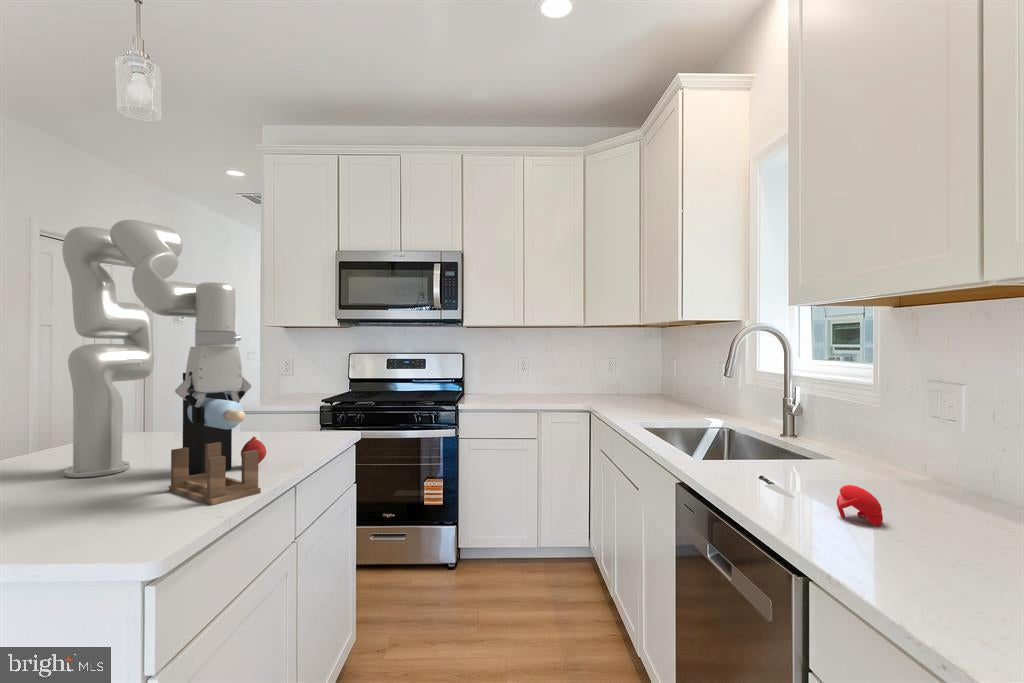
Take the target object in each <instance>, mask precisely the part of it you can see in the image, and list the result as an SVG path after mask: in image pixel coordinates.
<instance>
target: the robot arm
mask: <svg viewBox="0 0 1024 683" xmlns="http://www.w3.org/2000/svg"><path fill="white" fill-rule="evenodd" d="M182 240H183V239H182V238H181V236H180V234H179V233H178V232H177V231H176V230H175V229H173V228H172V227H169V226H166V225H161V224H156V223H153V222H152V223H151V222H147V221H143V220H137V219H122V220H120V221H117V222H116V223H114V224H113V225H112V227H111V228H110V229H108V228H102V227H98V226H97V227H94V226H78V227H74V228H71V229H70V230H69V231H68V232H67V233H65V237H64V239H63V243H62V247H61V248H62V250H61V252H62V253H61V254H62V257H63V262H64V267H65V268H66V269H65V270H66V271H67V274H68V277H69V280H70V284H71V299H72V300H71V301H72V302H71V303H72V315H73V326H74V328H75V329H74V330H75V331H76V334H78V336H80V337H82V338H87V339H99V340H100V339H103V340H105V339H107V340H112V339H113V340H115V339H116V340H123V343H92V344H91V343H89V344H84V345H80V346H78V347H76V348H74V349H73V350H72V351H71V352H70V354H69V356H68V358H67V366H68V372H69V376H70V381H71V386H72V410H73V411H72V412H73V413H72V414H73V415H72V416H73V417H72V420H73V422H72V425H73V426H72V433H73V434H72V466H71V467H68V468H66V469H65V470H64V472H63V475H64V476H65V477H67V478H93V477H101V476H107V475H112V474H117V473H121V472H124V471H127V470H129V469H130V467H131V464H130V462H128V461H123V419H124V418H123V410H124V409H123V405H124V404H123V397H122V394H121V393H120V392H119V390H118V389H117V388H116V386H114V384H113V382H114V383H115V382H126V381H127V382H128V381H138V380H139V381H140V380H144V379H146V378H148V377H149V376H150V375H151V374H152V372H153V370H154V367H155V349H154V348H155V346H154V336H153V335H154V334H153V321H152V318H151V317H152V316H151V315H150V313H149V311H148V310H150V311H151V312H152V313H154V314H156V315H158V316H162V317H180V318H195V320H194V330H195V332H194V335H195V336H194V346H190V348H189V352H188V355H187V361H186V370H185V373H186V377H185V381H184V382H183V381H182V382H181V384H180V385H178V387H177V388H175V390H174V392H175V394H177V395H178V396H179V397H180V398H182V400H183V399H184V400H185V401H186V402H187V403H188V404H189V405H190V406H192V422H193V424H194V425H196V426H203V425H204V412H205V409H204V407H202V403H203V400H204V398H205V396H206V393H218V392H224V393H225V395H226V398H227V400H229V401H235V402H237V403H239V404H240V401H241V400H242V398H243V397H244V396H246V393H248V391H250V389H251V388H252V385H251V384H250V383H249V382H248V381H247V380H246V378H245V377H244V376H243V369H242V368H243V366H242V360H241V359H242V358H241V355H240V351H239V346H236V344H237V342H240V341H241V339H242V337H241V335H240V334H237V332H236V289H235V286H233V285H232V284H230V283H226V282H214V281H213V282H211V281H208V282H207V281H206V282H200V283H191V282H186V281H185V282H184V281H183V282H182V281H175V280H173V281H172V280H166V279H168V278H169V277H171V276H173V274H175V272H176V271H177V269H178V266H179V256H180V255H181V254H182V251H183V247H184V246H183V241H182ZM101 264H107V265H113V266H119V267H121V266H122V267H127V268H128V267H129V268H134V270H133V272H132V276H131V277H132V278H131V280H132V282H131V283H132V289H133V292H134V294H135V296H136V297H137V299H139V301H140V302H141V303H142V304H143V305H144V306H145V307H144V306H142V305H140V304H139V303H135V302H134V303H133V302H121V301H118V299H117V293H116V292H117V290H116V284H115V281H114V280H113V278H112V276H111V275H110V273H109V272H108V271H107V270H106V269H105V268H104V267H103V266H102V265H101ZM146 308H147V309H148V310H147V309H146ZM187 391H188V392H193V395H190V394H189V393H188V392H187Z"/></svg>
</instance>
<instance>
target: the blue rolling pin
mask: <svg viewBox="0 0 1024 683" xmlns="http://www.w3.org/2000/svg"><path fill="white" fill-rule="evenodd" d="M202 407H204V409H205V412H204V426H209V427H215V428H221V429H232V430H233V429H234V428H236V427H237V426H239V424H240V423H242V422H244V420H245V419H246V413H245V412H244V410H243V409H244V408H243V407H242V405H241V404H240V402H239V403H237V402H235V401H229V400H221V399H213V398H204V400H203V403H202ZM187 411H188V417H189V419H190V420H191V421H192V406H189V407H188V409H187Z"/></svg>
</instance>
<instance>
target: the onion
mask: <svg viewBox="0 0 1024 683" xmlns="http://www.w3.org/2000/svg"><path fill="white" fill-rule="evenodd" d="M266 448H267V447H266V446H265V444H264V443H263V442H262V441H260V440H258V437H257V436H256V435H254V436H252V438H251V439H250V440H248V441H247V442H245V444H244V445H243V447H242V448H241V450H240V457H241V459H242V452H246V451H252V450H258V465H259V464H260V463H261V462H262V461H263V460H264V459H265V457H266V456H267V449H266Z"/></svg>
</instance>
